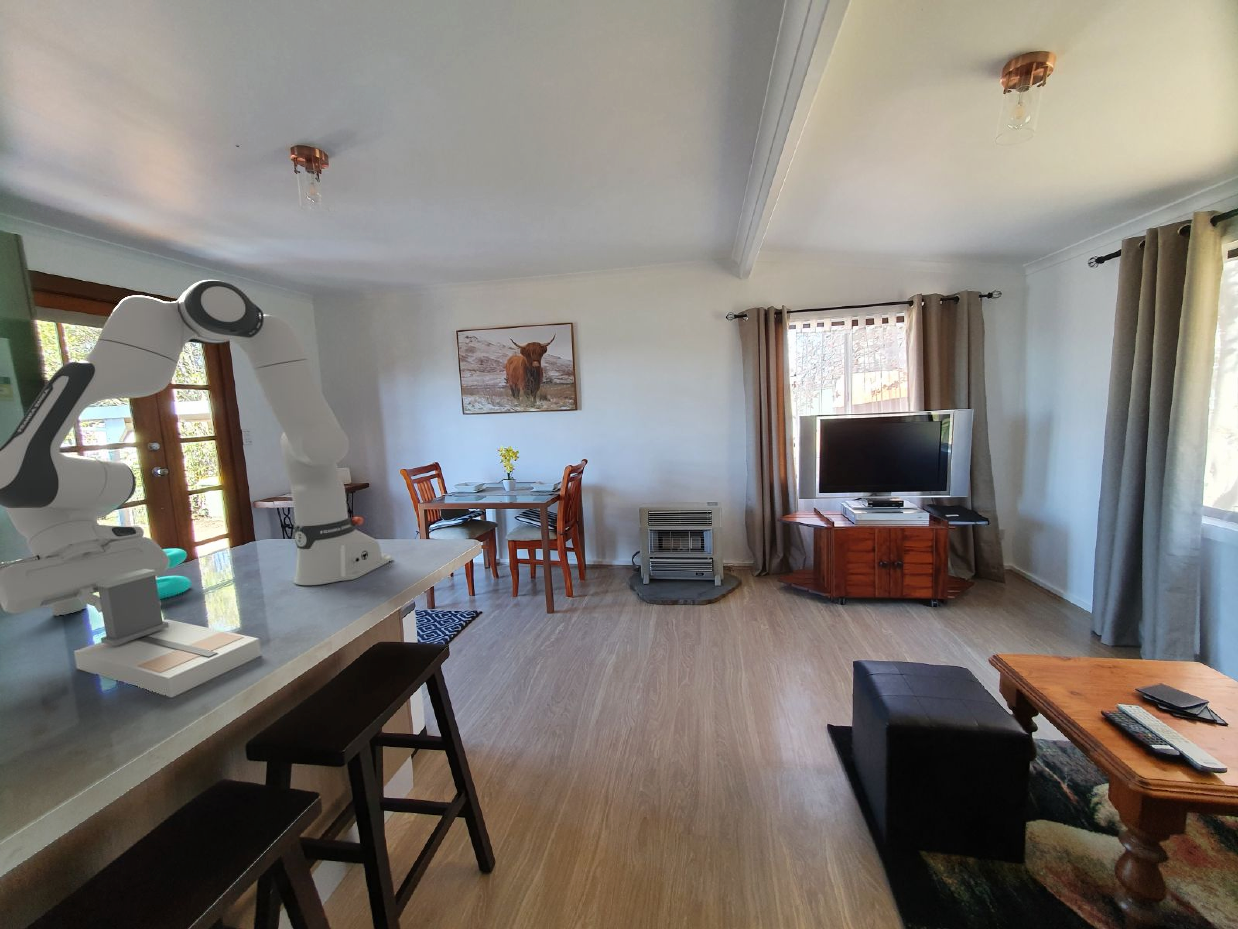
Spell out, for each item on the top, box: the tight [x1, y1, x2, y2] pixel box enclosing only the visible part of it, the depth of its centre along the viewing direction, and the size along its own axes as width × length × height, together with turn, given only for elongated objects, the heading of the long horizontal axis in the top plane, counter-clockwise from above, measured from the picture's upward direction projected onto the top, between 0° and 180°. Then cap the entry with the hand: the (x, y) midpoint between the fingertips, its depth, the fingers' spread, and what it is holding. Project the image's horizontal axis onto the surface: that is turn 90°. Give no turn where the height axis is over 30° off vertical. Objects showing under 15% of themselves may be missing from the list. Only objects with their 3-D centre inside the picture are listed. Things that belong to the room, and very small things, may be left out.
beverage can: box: [50, 597, 88, 617], centre depth 98 cm, size 5×5×12 cm
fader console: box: [73, 619, 262, 699], centre depth 76 cm, size 26×12×3 cm, turn 70°
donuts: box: [156, 547, 192, 600], centre depth 107 cm, size 10×10×10 cm
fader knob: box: [96, 569, 169, 646], centre depth 78 cm, size 4×7×10 cm, turn 160°
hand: (112, 607), depth 80 cm, fingers closed
